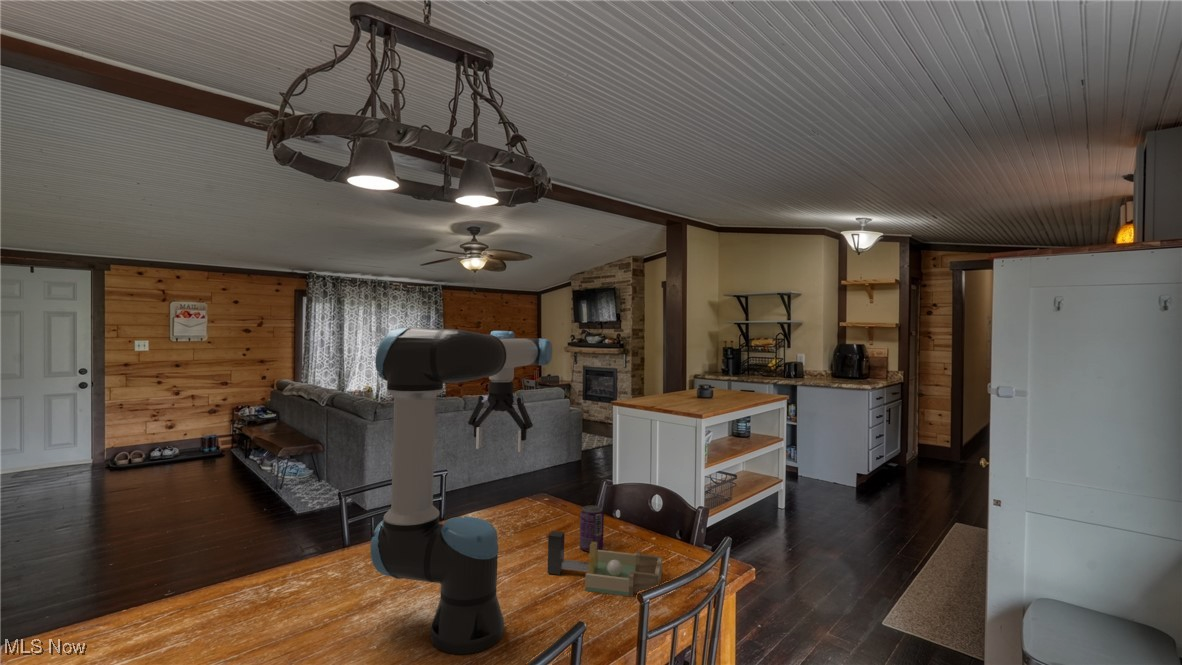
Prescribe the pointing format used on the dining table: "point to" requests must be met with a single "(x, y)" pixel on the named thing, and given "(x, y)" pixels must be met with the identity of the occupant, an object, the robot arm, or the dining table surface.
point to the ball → (614, 568)
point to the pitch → (604, 580)
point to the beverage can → (591, 527)
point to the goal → (645, 573)
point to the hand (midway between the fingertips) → (499, 449)
